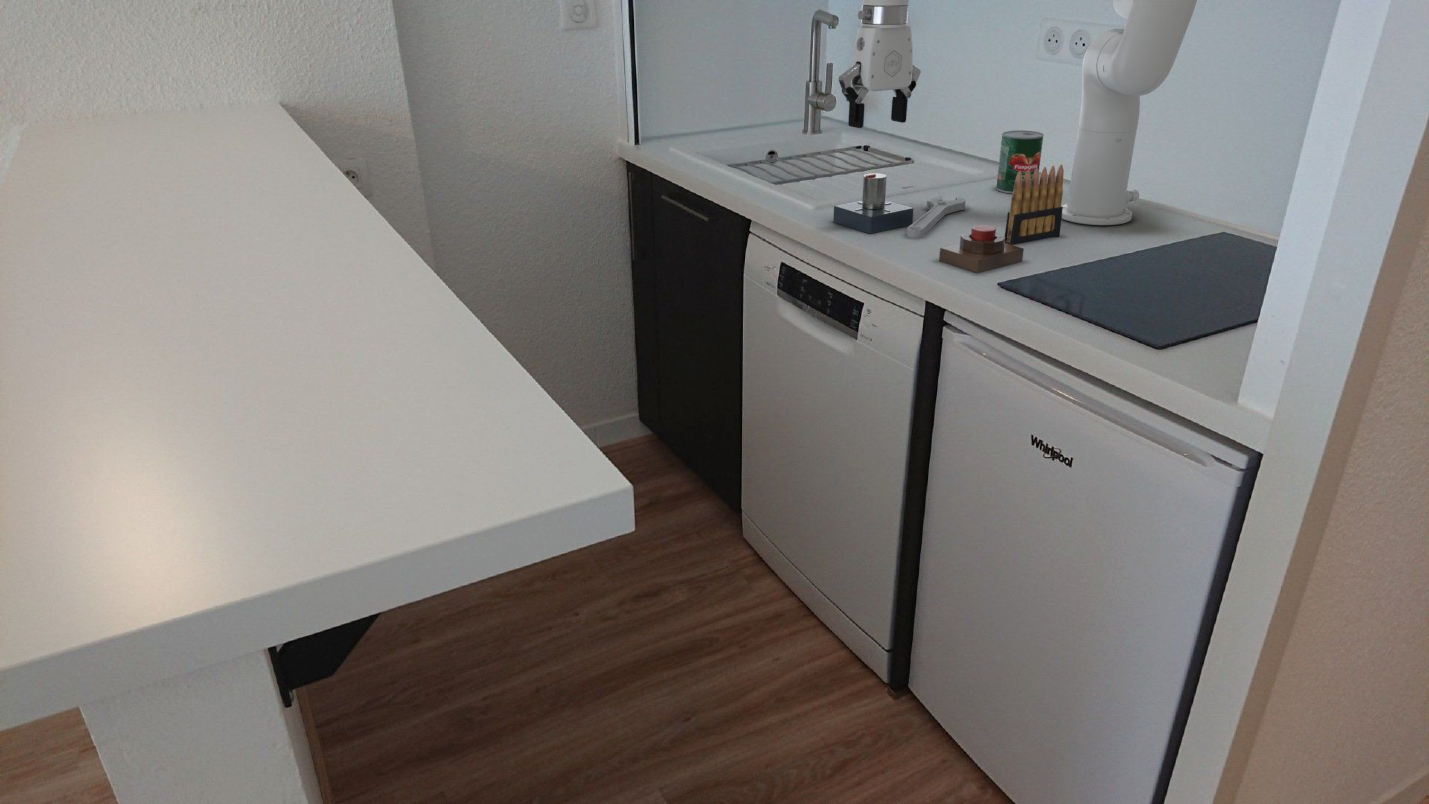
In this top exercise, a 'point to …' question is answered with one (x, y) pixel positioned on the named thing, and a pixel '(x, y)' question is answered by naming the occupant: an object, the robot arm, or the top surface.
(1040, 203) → the ammunition clip
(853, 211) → the block
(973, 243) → the block
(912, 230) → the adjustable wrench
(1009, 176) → the canned tomato
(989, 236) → the release button
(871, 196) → the silver upright cylinder
